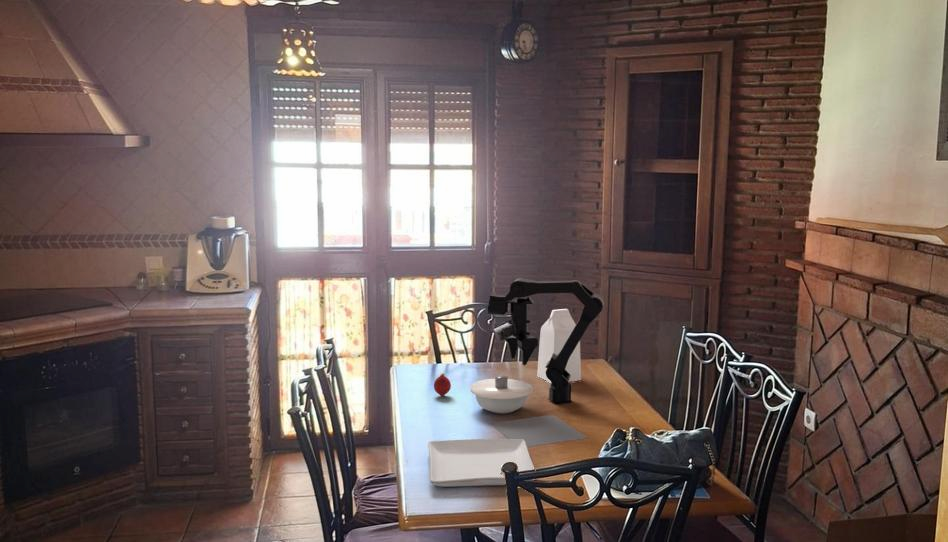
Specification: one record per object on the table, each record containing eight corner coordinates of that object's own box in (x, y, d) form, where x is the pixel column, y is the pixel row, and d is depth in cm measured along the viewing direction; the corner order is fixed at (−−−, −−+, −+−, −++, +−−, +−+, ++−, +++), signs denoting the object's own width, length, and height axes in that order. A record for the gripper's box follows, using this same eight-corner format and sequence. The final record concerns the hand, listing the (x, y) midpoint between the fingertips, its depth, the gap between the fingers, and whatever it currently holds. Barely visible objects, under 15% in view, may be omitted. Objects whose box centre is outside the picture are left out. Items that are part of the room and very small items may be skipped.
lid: (516, 378, 278) (516, 365, 278) (542, 395, 260) (543, 381, 259) (461, 384, 271) (461, 371, 270) (484, 402, 252) (485, 388, 252)
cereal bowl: (494, 399, 278) (494, 379, 277) (536, 408, 269) (537, 387, 267) (465, 412, 264) (465, 391, 263) (508, 422, 255) (508, 400, 254)
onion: (448, 399, 277) (448, 376, 276) (432, 398, 279) (431, 375, 277) (452, 394, 283) (452, 371, 282) (436, 393, 284) (436, 370, 283)
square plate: (427, 452, 231) (427, 439, 231) (524, 450, 233) (524, 437, 233) (429, 493, 204) (429, 478, 204) (538, 490, 206) (538, 476, 206)
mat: (553, 415, 261) (553, 414, 261) (587, 439, 241) (587, 437, 241) (489, 424, 253) (489, 423, 253) (520, 449, 233) (520, 447, 233)
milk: (565, 373, 310) (566, 305, 305) (580, 381, 299) (582, 311, 295) (536, 376, 305) (538, 308, 301) (552, 385, 294) (553, 314, 290)
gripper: (486, 312, 279) (485, 357, 282) (508, 324, 262) (508, 371, 265) (515, 310, 284) (515, 354, 286) (539, 321, 266) (539, 367, 269)
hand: (518, 361), depth 276 cm, fingers open, 9 cm apart
